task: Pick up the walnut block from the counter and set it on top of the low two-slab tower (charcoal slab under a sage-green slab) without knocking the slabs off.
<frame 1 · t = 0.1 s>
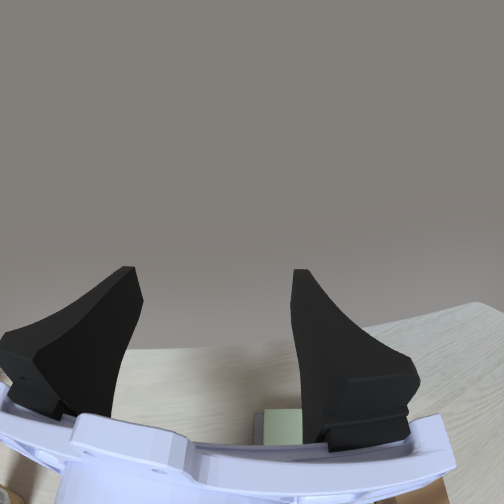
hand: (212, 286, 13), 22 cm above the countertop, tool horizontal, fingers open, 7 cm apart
tower top: (305, 453, 23), point 2 cm above the countertop, touching tower base
tower base: (302, 461, 24), on the countertop, touching tower top
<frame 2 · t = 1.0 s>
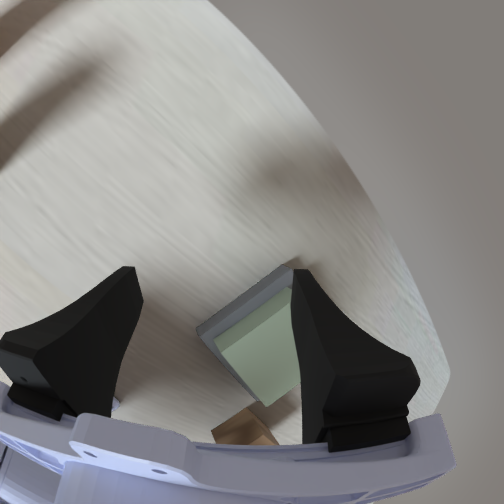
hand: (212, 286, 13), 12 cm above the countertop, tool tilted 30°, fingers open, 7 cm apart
tower top: (271, 344, 27), point 2 cm above the countertop, touching tower base
tower base: (263, 331, 29), on the countertop, touching tower top
walnut block: (240, 429, 30), on the countertop
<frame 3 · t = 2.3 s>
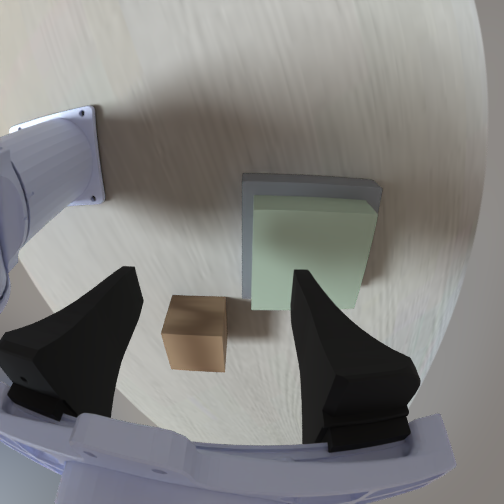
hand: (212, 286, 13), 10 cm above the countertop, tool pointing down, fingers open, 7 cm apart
tower top: (306, 247, 22), point 2 cm above the countertop, touching tower base
tower base: (304, 231, 24), on the countertop, touching tower top
walnut block: (201, 315, 28), on the countertop
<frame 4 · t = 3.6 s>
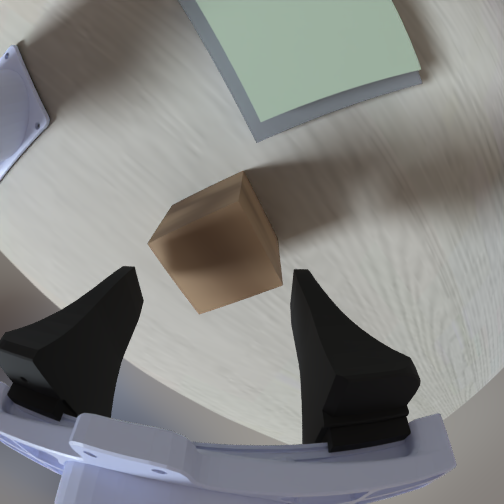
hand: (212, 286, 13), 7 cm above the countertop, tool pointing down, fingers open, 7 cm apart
tower top: (300, 21, 11), point 2 cm above the countertop
tower base: (298, 30, 13), on the countertop
walnut block: (225, 221, 19), on the countertop
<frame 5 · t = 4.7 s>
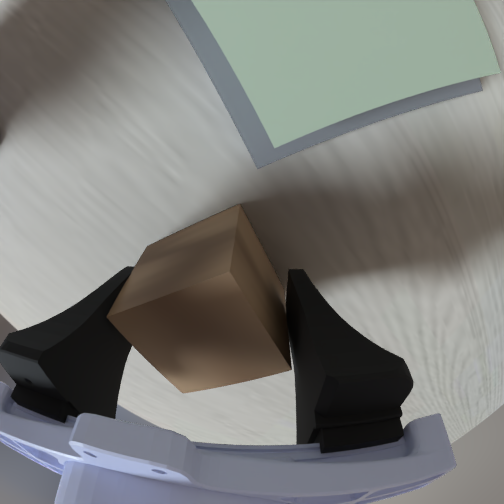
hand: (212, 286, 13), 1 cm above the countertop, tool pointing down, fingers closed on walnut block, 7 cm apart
tower base: (316, 8, 8), on the countertop
walnut block: (216, 268, 14), on the countertop, touching gripper
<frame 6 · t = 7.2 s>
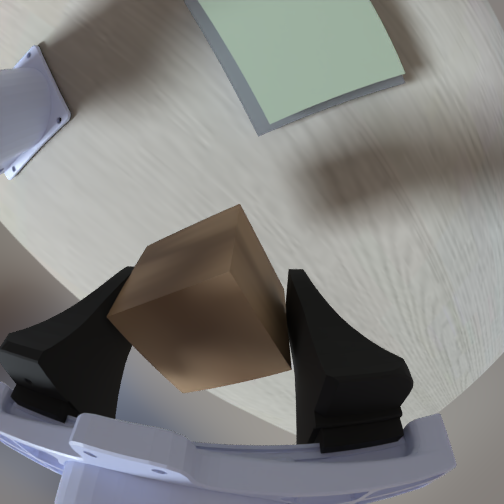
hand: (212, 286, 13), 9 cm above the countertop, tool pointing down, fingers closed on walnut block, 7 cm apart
tower top: (300, 35, 13), point 2 cm above the countertop, touching tower base
tower base: (295, 38, 15), on the countertop, touching tower top
walnut block: (216, 268, 14), point 8 cm above the countertop, touching gripper
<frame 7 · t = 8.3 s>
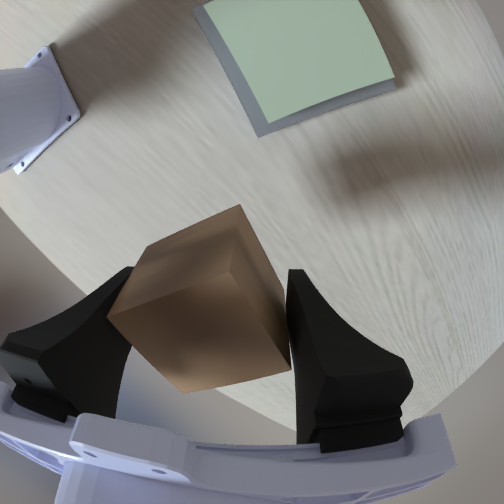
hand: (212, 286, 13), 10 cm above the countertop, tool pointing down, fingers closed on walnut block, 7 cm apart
tower top: (297, 40, 14), point 2 cm above the countertop, touching tower base
tower base: (294, 46, 16), on the countertop, touching tower top
walnut block: (216, 268, 14), point 9 cm above the countertop, touching gripper
when the fingers open (7 cm above the countertop, at t = 12.6 s): walnut block drops 2 cm, resting on tower top.
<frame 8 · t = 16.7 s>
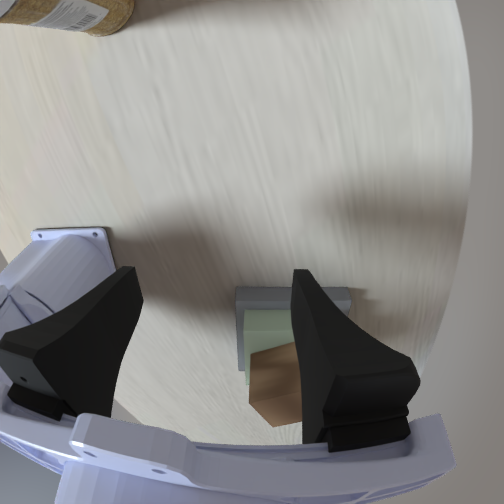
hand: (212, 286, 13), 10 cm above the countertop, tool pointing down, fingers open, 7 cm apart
tower top: (288, 340, 27), point 2 cm above the countertop, touching tower base, walnut block
sprinkles bottle: (109, 12, 14), on the countertop
tower base: (288, 322, 29), on the countertop, touching tower top
walnut block: (287, 362, 25), point 4 cm above the countertop, touching tower top
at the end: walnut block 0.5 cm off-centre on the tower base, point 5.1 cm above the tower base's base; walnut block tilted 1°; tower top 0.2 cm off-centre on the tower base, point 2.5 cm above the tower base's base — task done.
